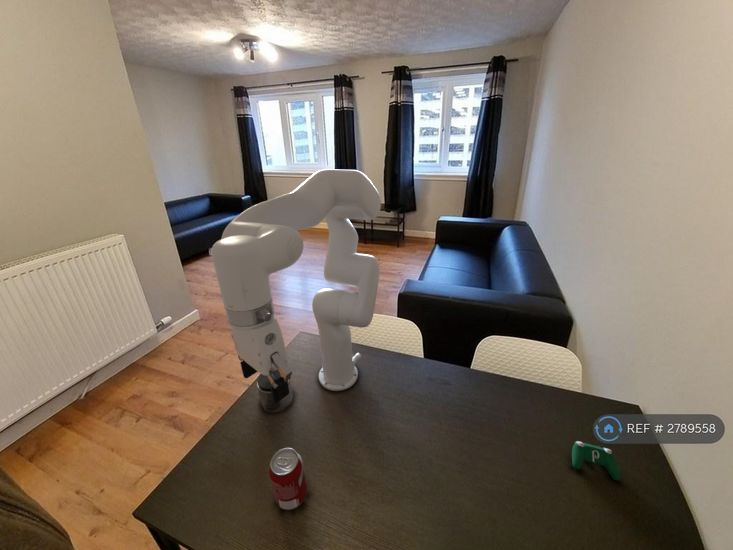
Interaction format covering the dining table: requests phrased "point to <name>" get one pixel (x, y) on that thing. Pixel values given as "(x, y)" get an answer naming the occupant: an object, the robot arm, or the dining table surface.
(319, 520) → the dining table surface
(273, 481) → the soda can
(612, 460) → the gaming controller
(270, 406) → the metal cup
